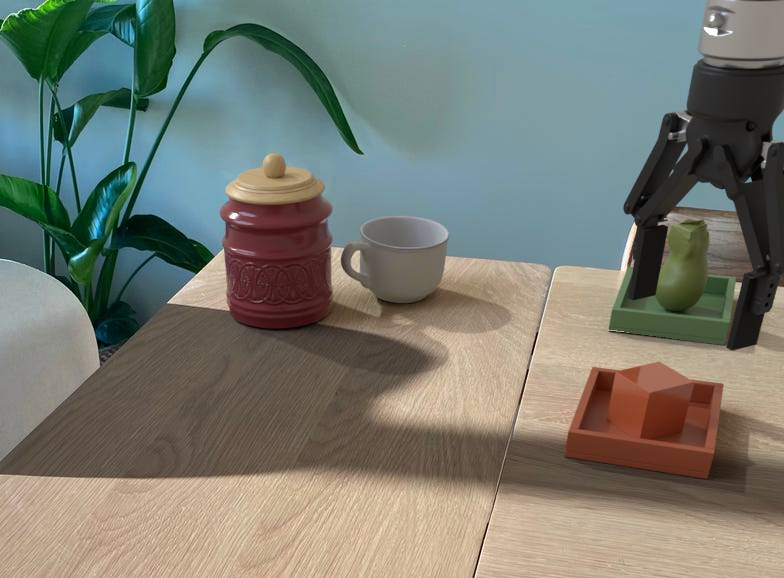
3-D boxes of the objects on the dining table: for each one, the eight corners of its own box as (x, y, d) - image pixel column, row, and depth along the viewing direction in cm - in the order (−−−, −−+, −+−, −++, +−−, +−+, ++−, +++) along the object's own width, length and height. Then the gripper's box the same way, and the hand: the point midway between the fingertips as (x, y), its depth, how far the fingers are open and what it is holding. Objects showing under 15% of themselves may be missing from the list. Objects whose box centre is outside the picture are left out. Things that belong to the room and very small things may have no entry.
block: (682, 431, 92) (694, 382, 89) (638, 442, 90) (649, 392, 87) (648, 409, 95) (659, 361, 92) (606, 420, 94) (615, 371, 91)
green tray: (724, 345, 108) (730, 322, 106) (608, 331, 112) (612, 309, 110) (730, 298, 118) (736, 276, 117) (624, 287, 122) (628, 266, 120)
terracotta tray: (707, 479, 86) (714, 453, 85) (563, 457, 90) (568, 431, 88) (717, 407, 97) (723, 383, 95) (588, 390, 100) (592, 366, 99)
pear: (708, 314, 113) (730, 224, 107) (669, 321, 112) (689, 231, 105) (678, 297, 117) (698, 210, 111) (641, 304, 116) (658, 216, 110)
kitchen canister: (354, 314, 117) (355, 155, 106) (261, 340, 112) (252, 176, 101) (297, 283, 126) (292, 133, 115) (208, 305, 121) (194, 151, 110)
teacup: (423, 274, 127) (427, 210, 122) (459, 303, 119) (464, 236, 114) (323, 289, 124) (322, 224, 119) (353, 320, 116) (353, 252, 111)
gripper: (608, 42, 85) (575, 285, 99) (832, 91, 67) (754, 379, 81) (677, 33, 87) (636, 272, 101) (913, 77, 69) (823, 361, 83)
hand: (688, 320), depth 91 cm, fingers open, 13 cm apart
